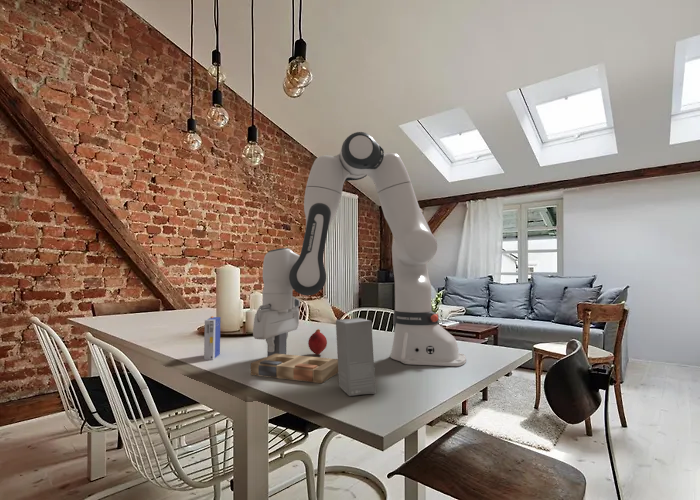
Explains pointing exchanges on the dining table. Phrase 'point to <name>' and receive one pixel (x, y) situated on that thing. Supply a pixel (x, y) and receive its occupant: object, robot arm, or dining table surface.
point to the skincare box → (355, 356)
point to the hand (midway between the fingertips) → (277, 349)
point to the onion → (317, 342)
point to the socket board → (296, 367)
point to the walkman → (212, 338)
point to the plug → (279, 344)
